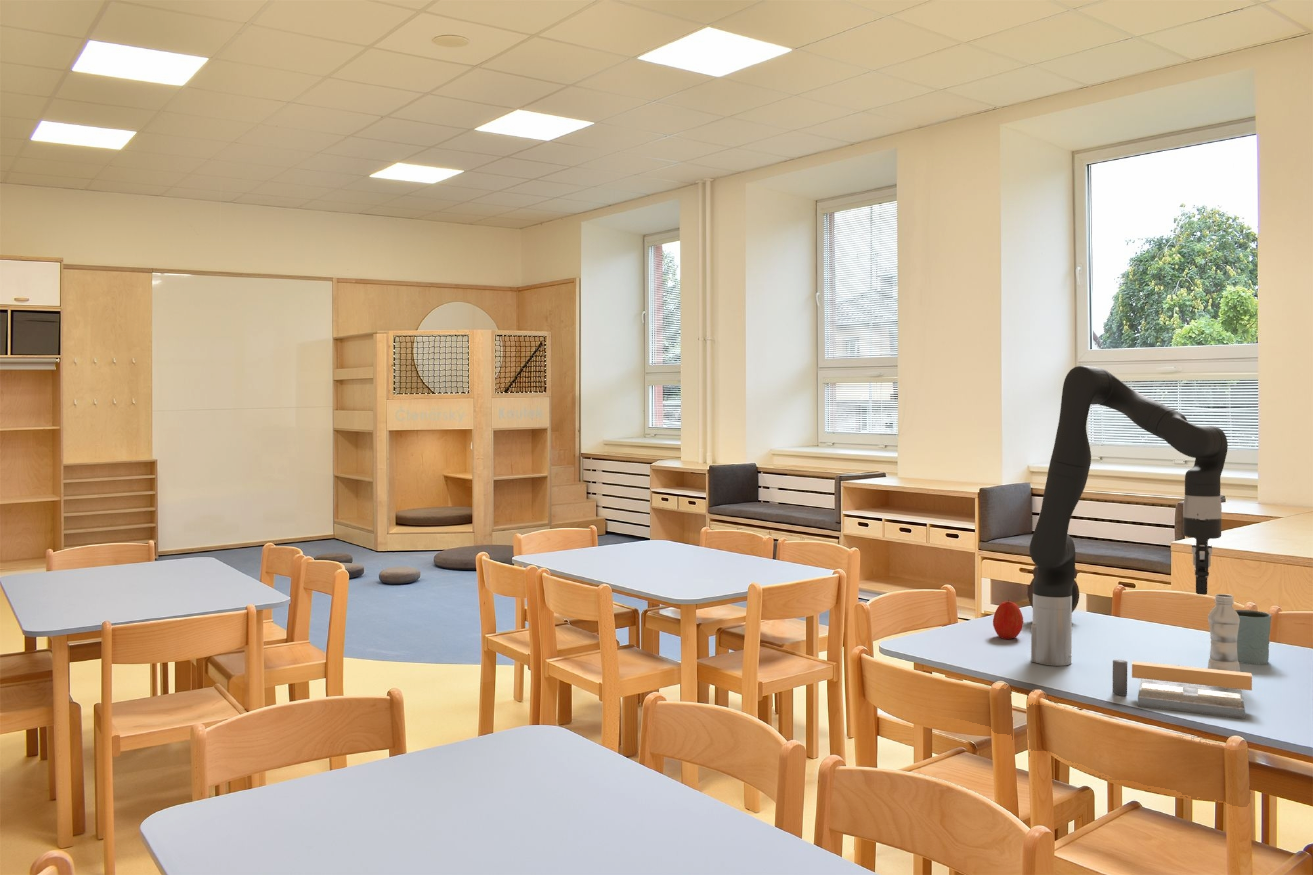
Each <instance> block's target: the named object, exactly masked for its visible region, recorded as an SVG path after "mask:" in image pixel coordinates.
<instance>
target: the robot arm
mask: <svg viewBox="0 0 1313 875" xmlns="http://www.w3.org/2000/svg"><path fill="white" fill-rule="evenodd" d="M1060 402H1061V403H1060V411H1059V418H1058V424H1057V428H1056V435H1055V439H1054V443H1053V444H1054V445H1053V449H1052V453H1051V456H1050V462H1049V466H1048V470H1047V476H1046V477H1047V478H1046V482H1045V484H1044V485H1045V486H1044V491H1043V498H1042V503H1041V509H1040V512H1039V516H1038V520H1037V522H1036V526H1035V528H1034V531H1033V534H1032V537H1031V539H1030V543H1029V555H1030V559H1031V561H1032V562H1033V564H1034V565H1035V566H1038V571H1037V576H1036V579H1035V581H1034V583H1033V608H1032V623H1031V627H1030V628H1031V629H1030V630H1031V631H1030V634H1031V636H1030V639H1031V640H1030V641H1031V642H1030V645H1031V646H1030V662H1031V663H1037V664H1041V665H1046V666H1055V667H1056V666H1057V667H1058V666H1060V667H1061V666H1068V665H1071V664H1072V656H1073V653H1072V650H1073V649H1072V648H1073V647H1072V646H1073V645H1072V644H1073V643H1072V642H1073V641H1072V638H1073V637H1072V634H1073V632H1072V631H1073V629H1072V627H1073V626H1072V625H1073V624H1072V623H1073V612H1072V587H1073V584H1074V580H1075V579H1076V578H1075V568H1076V546H1075V542H1074V540H1073V538H1072V536H1070V535H1069V534H1068V533H1069V532H1068V531H1069V526H1070V521H1071V518H1072V515H1073V513H1074V511H1075V508H1076V507H1077V505H1078V504H1079V501H1080V499H1081V497H1082V495H1083V493H1084V490H1085V487H1086V485H1087V483H1088V482H1087V480H1088V477H1089V473H1090V467H1091V463H1092V453H1091V446H1090V442H1089V438H1088V432H1087V422H1088V417H1089V412H1090V408H1091V405H1093V406H1094V405H1098V406H1101V407H1102V406H1103V407H1106V408H1109V409H1112V410H1115V411H1117V412H1119V413H1121V414H1123V415H1125V416H1126V417H1127V418H1128V419H1129V420H1130V421H1132V422H1133V423H1134V424H1135V425H1136V426H1138V427H1139V428H1141V429H1142V430H1144V431H1146V432H1148V433H1150V434H1152V435H1153V436H1156V437H1157V438H1160V439H1161V440H1164V441H1165V442H1166V443H1167V444H1168V445H1170V446H1171V447H1172V448H1174V449H1175V450H1176V451H1178V452H1179V453H1180V454H1182V455H1185V456H1187V457H1190V458H1192V459H1193V458H1194V460H1195V461H1194V464H1193V467H1191V468H1189V469H1188V470H1187V471H1186V472H1185V475H1184V497H1183V505H1182V506H1183V507H1182V508H1183V509H1182V534H1183V536H1184V537H1186V538H1191V539H1192V538H1194V539H1195V543H1194V544H1193V543H1192V544H1191V553H1192V566H1193V567H1194V576H1195V594H1196V595H1203V596H1206V595H1207V594H1208V578H1209V576H1210V572H1209V568H1210V567H1211V564H1212V563H1211V561H1212V560H1211V559H1212V558H1211V556H1212V554H1213V547H1212V545H1211V544H1209V543H1208V541H1209V540H1210V539H1213V540H1214V539H1219V538H1221V537H1222V514H1223V513H1222V500H1221V476H1222V473H1223V470H1224V466H1225V463H1226V462H1225V461H1226V459H1227V454H1228V449H1229V448H1228V446H1229V444H1228V439H1227V435H1226V433H1225V432H1224V431H1223V430H1222V428H1219V427H1218V426H1214V425H1196V424H1193V423H1191V422H1189V421H1188V419H1187V417H1186V416H1185V414H1183V413H1181V412H1179V411H1177V410H1175V409H1173V408H1171V407H1169V406H1168V405H1165V404H1162V403H1160V402H1159V401H1156V400H1154V399H1152V398H1150V397H1149V396H1146V395H1144V394H1142V393H1140V392H1139V391H1136V390H1135V389H1134V388H1131V387H1130V386H1128V385H1127V384H1126V383H1124V382H1123V381H1121V380H1120V379H1119V378H1118V377H1116V376H1115V375H1113V374H1112V373H1110V372H1109V371H1108V370H1106V369H1104V368H1102V367H1097V366H1096V367H1095V366H1088V365H1076V366H1074V367H1072V368H1071V369H1070V370H1069V371H1068V372H1067V374H1066V376H1065V378H1064V381H1063V385H1062V393H1061V401H1060Z"/></svg>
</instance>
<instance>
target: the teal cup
mask: <svg viewBox="0 0 1313 875" xmlns="http://www.w3.org/2000/svg"><path fill="white" fill-rule="evenodd" d="M1235 611H1236V612H1237V614H1238V615H1239V618H1240V623H1239V629H1238V635H1237V655H1238V662H1239V664H1240V663H1241V664H1248V665H1266V664H1268V663H1269V658H1270V650H1269V648H1270V643H1271V641H1270V635H1271V625H1272V624H1271V623H1272V614H1270V613H1268V612H1266V611H1265V612H1264V611H1258V610H1248V609H1235Z"/></svg>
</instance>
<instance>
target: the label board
mask: <svg viewBox="0 0 1313 875" xmlns="http://www.w3.org/2000/svg"><path fill="white" fill-rule="evenodd" d="M1137 707H1142V708H1149V709H1157V710H1167V711H1174V712H1175V711H1176V712H1183V713H1192V714H1200V715H1206V716H1215V717H1216V716H1217V717H1224V718H1233V719H1240V720H1241V719H1242V720H1246V708H1245V703H1244V696H1243V691H1242V689H1233V688H1224V687H1215V686H1205V685H1196V684H1187V683H1178V682H1168V681H1159V680H1150V679H1141V678H1140V683H1139V689H1138V695H1137Z"/></svg>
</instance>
